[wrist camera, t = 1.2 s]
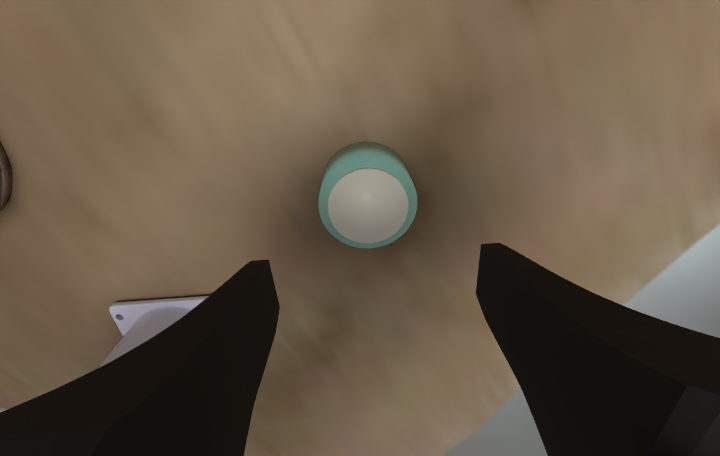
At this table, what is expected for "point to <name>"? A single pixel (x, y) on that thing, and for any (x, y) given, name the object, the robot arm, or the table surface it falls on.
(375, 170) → the cap
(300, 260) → the table surface
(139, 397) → the robot arm
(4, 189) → the faceted ring bowl
